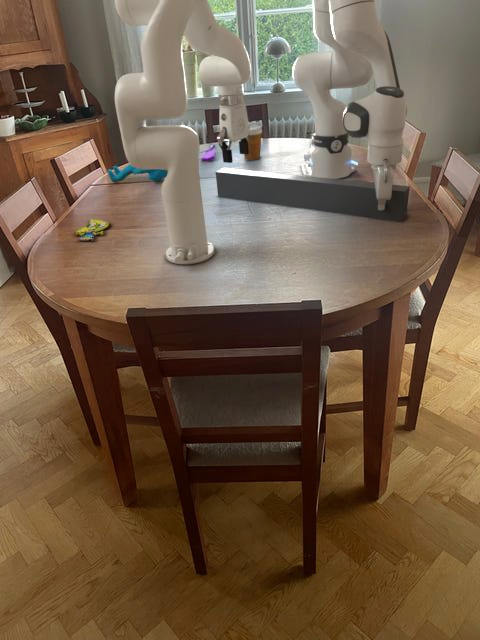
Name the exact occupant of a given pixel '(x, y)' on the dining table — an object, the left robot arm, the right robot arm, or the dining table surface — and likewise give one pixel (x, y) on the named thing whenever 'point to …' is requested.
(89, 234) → the toy
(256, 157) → the beer cup
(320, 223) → the dining table surface
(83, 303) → the dining table surface
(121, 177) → the toy
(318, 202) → the beam
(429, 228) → the dining table surface
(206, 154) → the musical instrument
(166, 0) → the left robot arm
